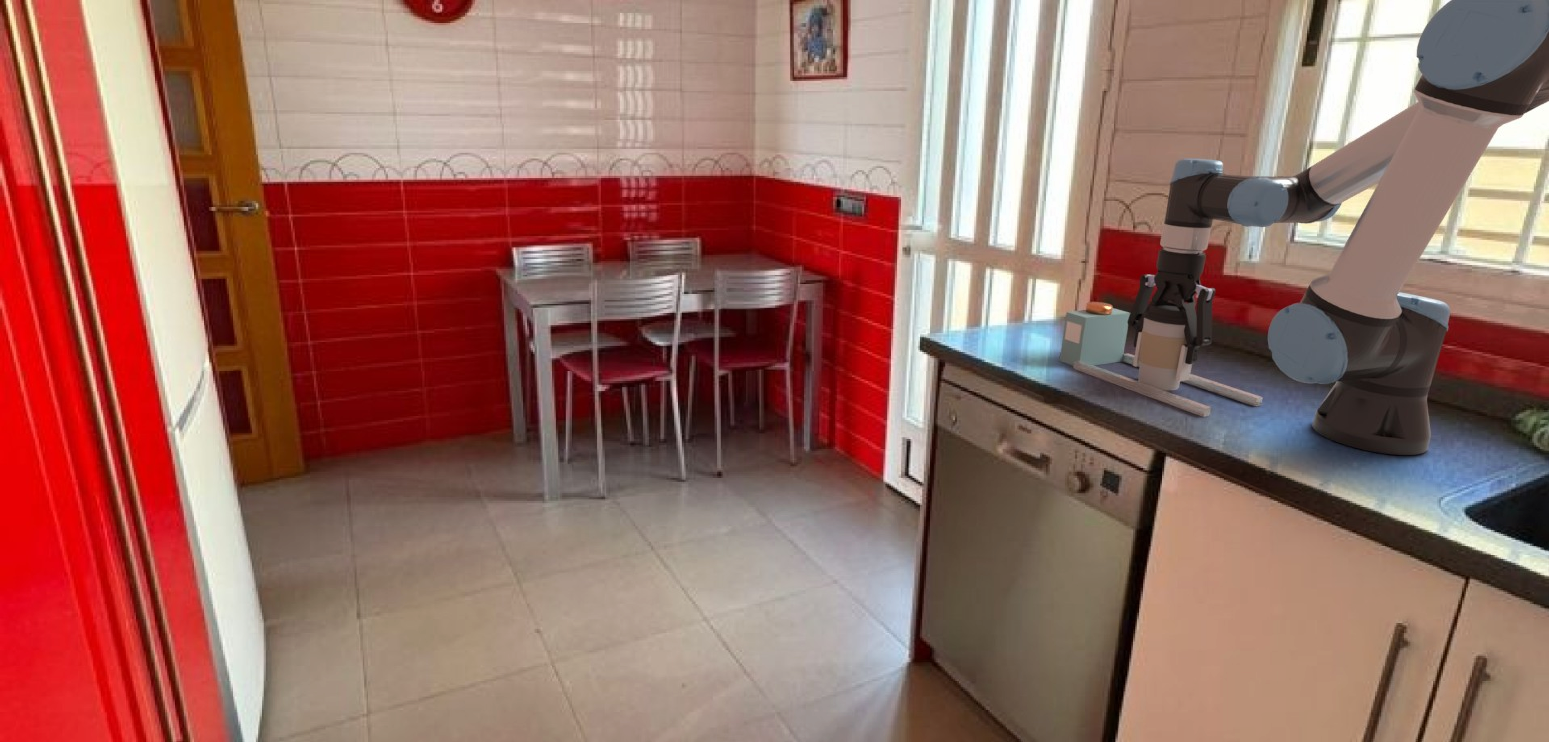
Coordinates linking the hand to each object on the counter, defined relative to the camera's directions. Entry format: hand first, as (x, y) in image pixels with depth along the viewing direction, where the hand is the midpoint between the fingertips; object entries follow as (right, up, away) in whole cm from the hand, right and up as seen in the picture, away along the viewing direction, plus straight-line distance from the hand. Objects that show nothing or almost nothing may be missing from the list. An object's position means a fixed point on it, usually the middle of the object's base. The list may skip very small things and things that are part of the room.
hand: (1160, 372), depth 154 cm
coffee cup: (0, -2, +1) cm, 3 cm away
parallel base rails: (0, -2, 0) cm, 2 cm away
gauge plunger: (-7, +7, +13) cm, 16 cm away
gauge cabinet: (-7, +2, +14) cm, 16 cm away
